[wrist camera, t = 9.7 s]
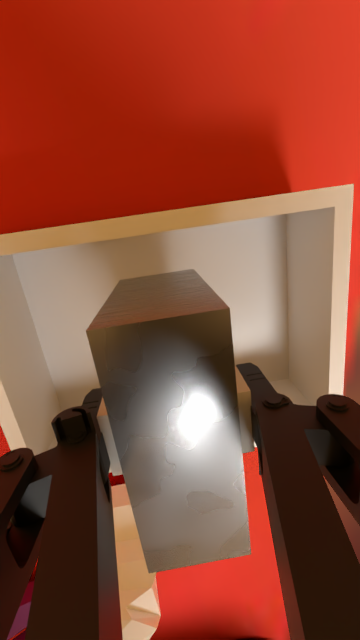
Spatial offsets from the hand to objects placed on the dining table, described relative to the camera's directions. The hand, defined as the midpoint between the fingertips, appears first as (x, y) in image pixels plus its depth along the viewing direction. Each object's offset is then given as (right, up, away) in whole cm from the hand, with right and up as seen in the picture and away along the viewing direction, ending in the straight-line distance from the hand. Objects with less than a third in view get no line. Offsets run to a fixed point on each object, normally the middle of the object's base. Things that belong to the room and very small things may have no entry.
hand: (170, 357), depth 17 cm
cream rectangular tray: (-1, +2, +7) cm, 8 cm away
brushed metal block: (0, 0, 0) cm, 0 cm away
